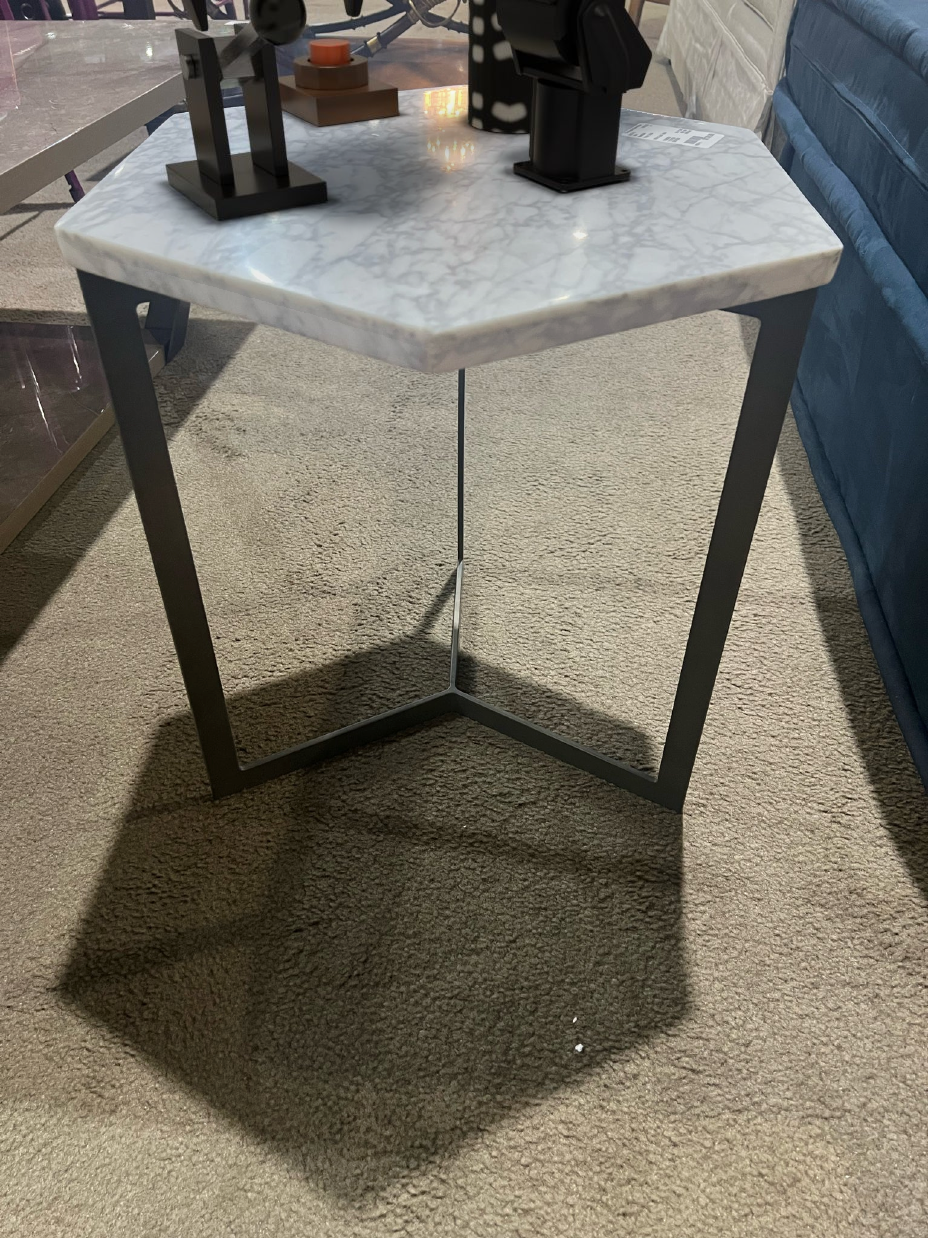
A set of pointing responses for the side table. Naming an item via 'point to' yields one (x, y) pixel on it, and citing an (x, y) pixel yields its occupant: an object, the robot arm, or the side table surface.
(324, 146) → the side table surface
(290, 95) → the button block
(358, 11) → the robot arm
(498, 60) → the spotted black cylinder
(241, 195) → the bracket
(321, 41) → the button
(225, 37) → the lever
